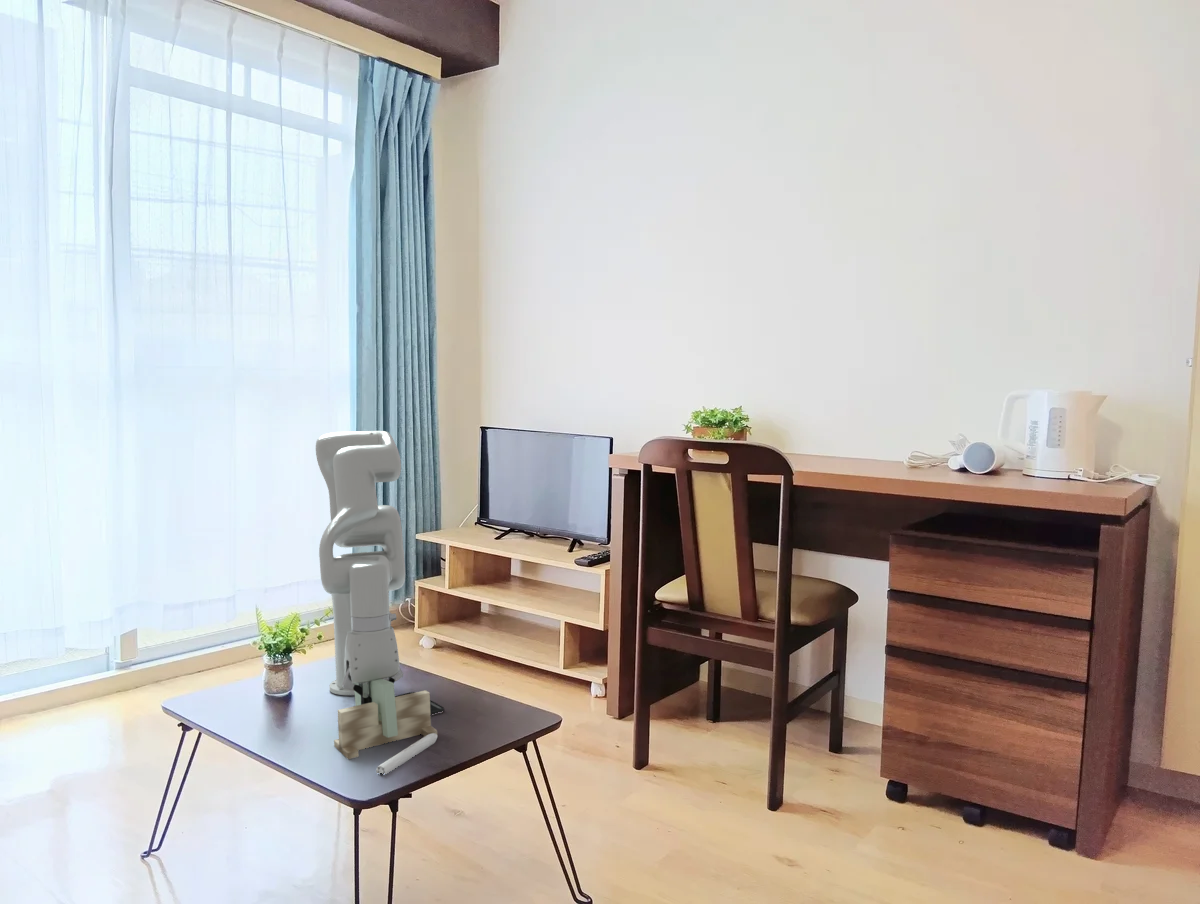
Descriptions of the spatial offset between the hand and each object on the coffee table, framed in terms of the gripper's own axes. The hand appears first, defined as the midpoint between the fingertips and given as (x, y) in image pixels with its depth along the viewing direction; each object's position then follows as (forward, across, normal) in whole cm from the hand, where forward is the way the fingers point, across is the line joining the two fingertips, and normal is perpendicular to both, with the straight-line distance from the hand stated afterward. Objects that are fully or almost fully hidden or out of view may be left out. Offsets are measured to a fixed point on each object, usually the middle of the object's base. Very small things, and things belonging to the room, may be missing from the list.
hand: (374, 713), depth 175 cm
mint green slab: (+3, 0, +1) cm, 3 cm away
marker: (+5, -1, +15) cm, 16 cm away
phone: (+4, -12, -10) cm, 16 cm away
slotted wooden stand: (+4, 0, +6) cm, 7 cm away
